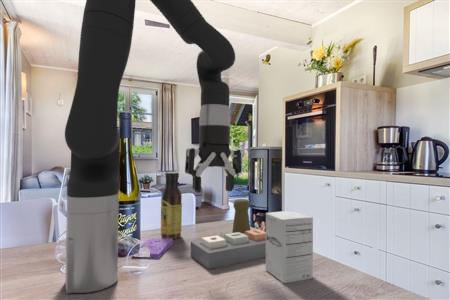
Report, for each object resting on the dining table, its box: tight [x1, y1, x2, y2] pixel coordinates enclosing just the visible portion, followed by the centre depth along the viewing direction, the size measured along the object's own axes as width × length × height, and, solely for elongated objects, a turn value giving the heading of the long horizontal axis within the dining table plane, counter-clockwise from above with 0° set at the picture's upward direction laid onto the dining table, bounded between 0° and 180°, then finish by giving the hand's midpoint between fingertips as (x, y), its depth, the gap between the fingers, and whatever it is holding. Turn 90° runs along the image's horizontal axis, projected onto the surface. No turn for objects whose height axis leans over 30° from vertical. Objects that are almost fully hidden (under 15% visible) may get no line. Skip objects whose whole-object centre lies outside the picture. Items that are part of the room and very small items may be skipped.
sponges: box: [140, 237, 174, 259], centre depth 77 cm, size 7×13×2 cm, turn 174°
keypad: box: [190, 233, 266, 270], centre depth 73 cm, size 20×10×4 cm, turn 120°
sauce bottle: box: [160, 171, 183, 240], centre depth 89 cm, size 7×6×20 cm
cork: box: [231, 198, 251, 234], centre depth 93 cm, size 6×6×11 cm
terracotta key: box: [245, 228, 266, 241], centre depth 76 cm, size 4×4×2 cm
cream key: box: [200, 234, 226, 249], centre depth 70 cm, size 4×4×2 cm
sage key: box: [223, 232, 248, 245], centre depth 73 cm, size 4×4×2 cm
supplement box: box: [265, 210, 314, 284], centre depth 61 cm, size 7×7×13 cm
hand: (213, 191), depth 70 cm, fingers open, 8 cm apart
